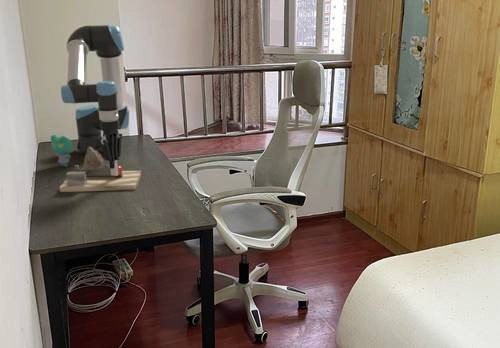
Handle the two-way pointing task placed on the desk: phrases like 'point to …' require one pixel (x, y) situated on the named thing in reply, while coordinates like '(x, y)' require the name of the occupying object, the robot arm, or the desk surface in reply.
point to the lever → (101, 172)
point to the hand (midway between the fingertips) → (114, 175)
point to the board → (99, 181)
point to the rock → (93, 159)
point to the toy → (61, 148)
